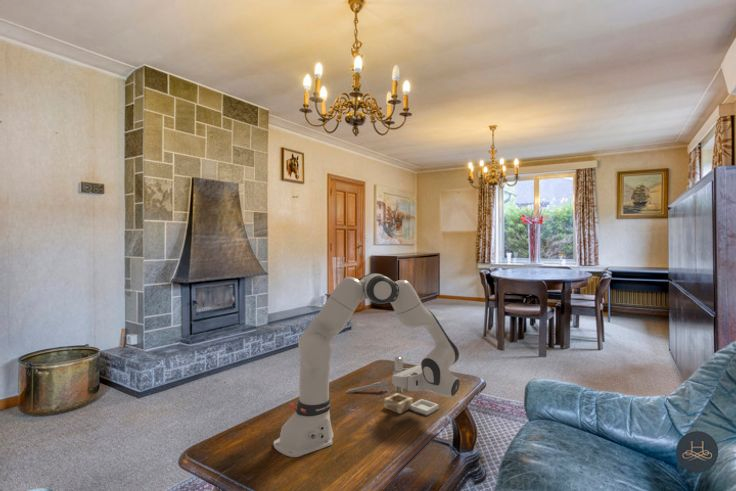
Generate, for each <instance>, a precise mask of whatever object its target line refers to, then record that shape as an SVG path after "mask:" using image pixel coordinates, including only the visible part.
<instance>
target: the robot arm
mask: <svg viewBox="0 0 736 491" xmlns="http://www.w3.org/2000/svg"><path fill="white" fill-rule="evenodd" d="M364 300H368V301H370V302H372V303H375V304H378V305H379V304H380V305H382V304H387V303H390V304H391V306H392V309H393V310H394V312H395V315H396V317H397V320H398V321H399V322H400V323H401V325H403V327H406V328H409V329H413V328H421V327H424V328H425V329H426V331H427V333H428V334H429V335H430V337H431V338H432V340H433V342H434V348H433V349H432V350H430V352H428V353H427V354H426V356H425V357H424V358H423V359H422V360H421V362H420V364H418V365H415V366H413V367H410V368H409V367H408V368H404V367H403V371H402V372H400V373H398V371H395V370H393V371H392V375H391V383H392V386H394V387H395V386H398V387H401V388H403V390H404V389H407V391H408V392H417V391H425V392H432V393H433V394H435V395H438V396H441V397H447V398H452V397H454V396H455V395H456V394H457V393H458V391H459V388H460V384H461V383H460V379H459V378H458V377H456V376H455V375H454V374H453V373H452V372H451V370H450V368H451V367H452V366H453V365H454V364H456V363H457V362H458V361H459V358H460V352H459V349H458V347H457V346H456V345H455V343H454V342H453V341H452V340H451V339H450V337H449V336H448V334H447V332H446V330H445V329H444V328H443V326H442V325H441V324H440V322H439V320H438V319H437V317H436V315H435V314H434V313H433V312H432V311H431V310H429V309H427V308H426V307H425V306H424V304H423V303H422V300H421V298H420V297H419V295H418V293H417V292H416V289H415V288H414V287H413V285H412V284H411V283H410V282H409V281H408V280H406V279H399V280H396V281H394V280H392V279H391V278H390V277H388V276H386V275H384V274H381V273H375V272H372V273H369V274H366V275H364V276H363V277H361V278H356V277H353V276H346V277H344V278H343V279H342V280H341V281H340V282H339V283H338V284H337V286H336V287H335V288H334V290H332V292H331V294H330V295H329V297H328V298H327V300H326V301H325V302H324V305H323V306H322V307H321V309H320V310H319V312H318V314H317V315H316V316H315V318H314V319H313V320H312V321H311V322H310V324H309V325H308V326H307V327H306V328H305V330H304V331H303V333H301V334H300V337H299V339H298V342H297V345H298V350H299V357H300V360H299V361H300V363H299V366H300V367H299V377H298V378H299V379H298V380H299V382H298V384H299V390H298V391H299V398H298V400H297V403H295V402H290V405H289V407H290V409H292V410H294V411H295V412H294V413H292V415H291V416H290V417H289V418H288V419H287V421H286V422H285V423H284V424H283V425H282V427H281V428H280V433H279V437H278V438H277V439H275V440H274V441H273V448H274V449H275V450H276V451H278V453H280V454H281V455H284V456H287V457H290V458H298V457H302V456H304V455H307V454H310V453H312V452H315V451H316V452H317V451H318V450H322V449H324V448H327V447H330V446H332V445H333V438H334V431H333V427H332V423H331V415H330V409H331V398H330V372H331V362H332V360H331V359H332V358H331V357H332V347H331V345H330V344H331V343H332V341H333V340H334V339H335V337H337V335H338V334H339V333H341V332H342V331H343V330H344V328H345V327H346V326H347V324H348V322H349V321H350V319H351V318H352V315H353V314H354V312H355V311H356V309H357V308H358V305H359V304H360V303H361V302H362V301H364Z"/></svg>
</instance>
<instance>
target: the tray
mask: <svg viewBox="0 0 736 491" xmlns="http://www.w3.org/2000/svg"><path fill="white" fill-rule="evenodd" d="M439 406H440V405H439V403H436V402H432V401H430V400H426V399H423V398H421V399H419V400H417V401H415V402H413V404H411V405H410V409H409V410H411V411H413V412H415V413H418V414H421V415H423V416H426V417H427V416H429V415H430V414H432V413H434V412H437V411H438V410H439V409H440V408H439Z"/></svg>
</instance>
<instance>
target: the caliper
mask: <svg viewBox="0 0 736 491" xmlns="http://www.w3.org/2000/svg"><path fill="white" fill-rule="evenodd" d="M379 388H380V390H381V391H382V392H384V388H385V391H386V392H388V382H387V380H385V379H381V381H378V382H374V383H371V384H369V385H364V386H363V385H362V386H359V387H355V388H350V389H347V390H346V391H345V394H346V393H347V394H349V393H351V394H352V393H357V392H361V391H364V390H370V389H373V390H376V389H379Z"/></svg>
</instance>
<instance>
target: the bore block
mask: <svg viewBox="0 0 736 491" xmlns="http://www.w3.org/2000/svg"><path fill="white" fill-rule="evenodd" d="M413 403H414V397H411V396H408V395H405V394H402V393H396V392H395V393H393V394H391V395H389V396H387V397H385V398H383V404H384V406H383V408H385V409H387V410H390V411H391V412H392V411H393V412H395V413H398V414H403V413H405V412H406V411H408V410H410V405H411V404H413Z"/></svg>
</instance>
